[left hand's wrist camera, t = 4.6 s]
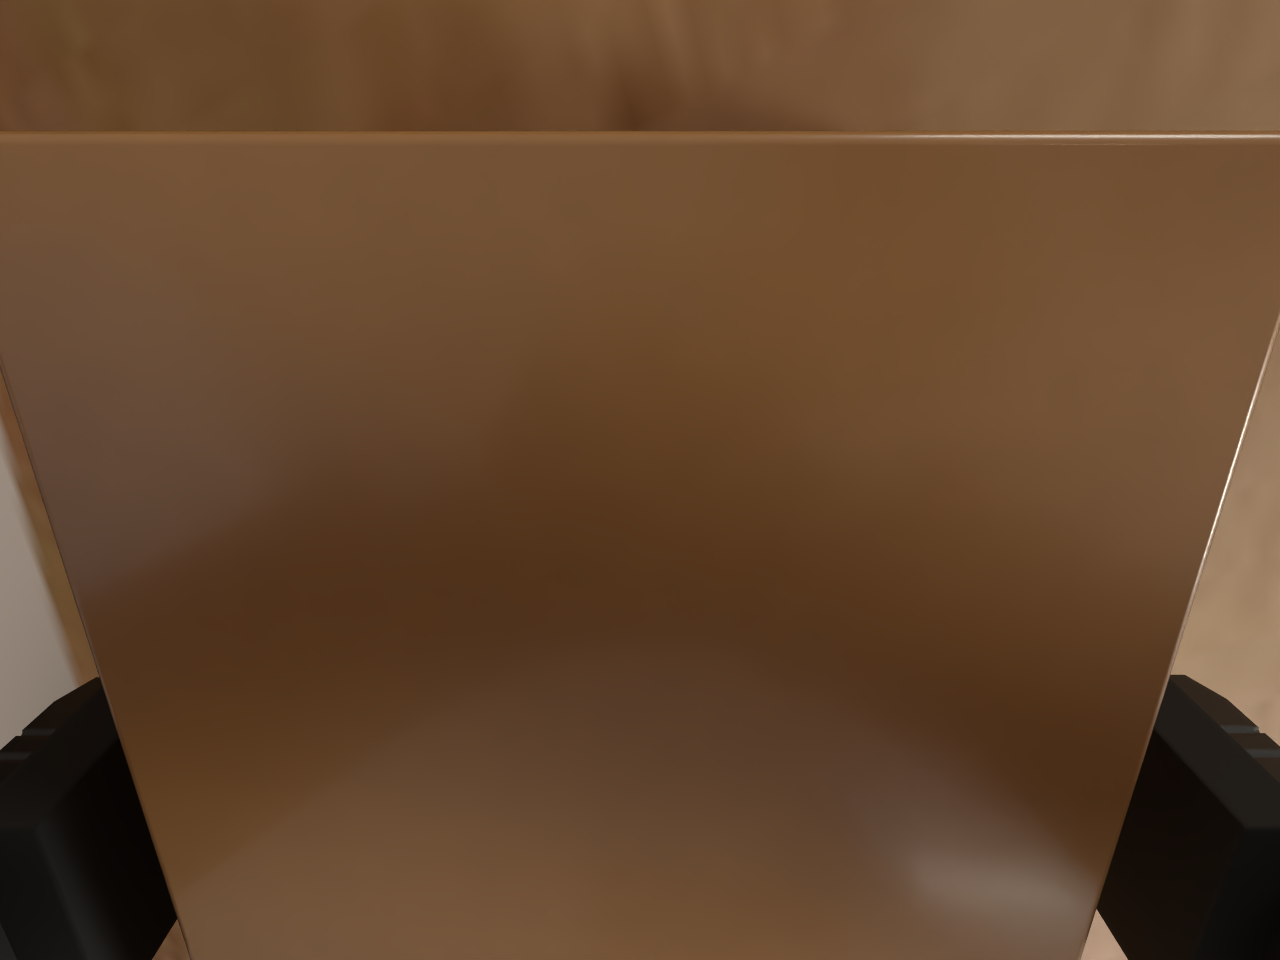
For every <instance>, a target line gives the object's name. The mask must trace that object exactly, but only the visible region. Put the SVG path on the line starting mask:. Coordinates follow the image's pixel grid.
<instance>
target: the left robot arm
mask: <svg viewBox="0 0 1280 960" xmlns="http://www.w3.org/2000/svg"><path fill="white" fill-rule="evenodd" d="M1258 729H1259V727H1257V726H1256V725H1255V724H1254V723H1253V722H1252V721H1251V720H1250V719H1248V718H1247V717H1246V716H1245V715H1244V714H1243V713H1242V712H1241V711H1240V710H1238V709H1237V708H1236V707H1235V706H1234V705H1233V704H1232V703H1231V702H1229V701H1228V700H1227V699H1226V698H1224V697H1222V696H1221V695H1219V694H1217V693H1215V692H1214V691H1212V690H1210V689H1208V688H1207V687H1205V686H1203V685H1201V684H1200V683H1198V682H1196V681H1194V680H1193V679H1191V678H1189V677H1187V676H1186V675H1170V677H1169V680H1168V683H1167V686H1166V689H1165V693H1164V696H1163V699H1162V702H1161V705H1160V708H1159V712H1158V715H1157V718H1156V721H1155V724H1154V727H1153V731H1152V734H1151V737H1150V740H1149V743H1148V746H1147V750H1146V753H1145V756H1144V759H1143V762H1142V765H1141V769H1140V772H1139V775H1138V778H1137V781H1136V784H1135V788H1134V791H1133V794H1132V797H1131V800H1130V803H1129V807H1128V810H1127V813H1126V816H1125V819H1124V823H1123V826H1122V829H1121V832H1120V835H1119V838H1118V842H1117V845H1116V848H1115V851H1114V854H1113V857H1112V861H1111V864H1110V867H1109V870H1108V873H1107V876H1106V880H1105V883H1104V886H1103V889H1102V892H1101V895H1100V899H1099V902H1098V905H1097V908H1096V909H1097V910H1098V912H1099V913H1100V915H1101V917H1102V918H1103V920H1104V921H1105V923H1106V925H1107V926H1108V928H1109V930H1110V931H1111V933H1112V934H1113V936H1114V938H1115V939H1116V941H1117V942H1118V944H1119V946H1120V947H1121V949H1122V950H1123V952H1124V954H1125V955H1126V957H1127V959H1128V960H1280V746H1279V745H1278V744H1276V743H1275V742H1274V741H1273V740H1272V739H1271V738H1270V737H1269V736H1267V735H1266V734H1265V733H1260V732H1259V730H1258ZM22 731H23V733H22V735H21V736H15V737H14V738H13V739H12V740H11V741H10V742H9V743H8V744H7V745H6V746H4V747H3V748H2V749H1V750H0V960H152V959H153V957H154V955H155V954H156V952H157V950H158V949H159V947H160V946H161V944H162V942H163V941H164V939H165V938H166V936H167V934H168V933H169V931H170V930H171V928H172V926H173V925H174V923H175V922H176V920H177V915H176V912H175V909H174V906H173V903H172V900H171V897H170V894H169V891H168V887H167V884H166V881H165V878H164V875H163V872H162V869H161V866H160V863H159V859H158V856H157V853H156V850H155V847H154V844H153V841H152V838H151V835H150V832H149V828H148V825H147V822H146V819H145V816H144V813H143V810H142V807H141V804H140V800H139V797H138V794H137V791H136V788H135V785H134V782H133V779H132V776H131V773H130V769H129V766H128V763H127V760H126V757H125V754H124V751H123V748H122V745H121V742H120V738H119V735H118V732H117V729H116V726H115V723H114V720H113V717H112V714H111V710H110V707H109V704H108V701H107V698H106V695H105V692H104V689H103V686H102V683H101V679H100V677H96V678H94V679H93V680H91V681H89V682H87V683H86V684H84V685H82V686H80V687H79V688H77V689H75V690H73V691H72V692H70V693H68V694H67V695H65V696H63V697H61V698H60V699H58V700H56V701H54V702H53V703H52V704H51V705H50V706H49V707H48V708H47V709H46V710H44V711H43V712H42V713H41V714H40V715H39V716H38V717H37V718H35V719H34V720H33V721H32V722H31V723H30V724H29V725H28V726H27V727H26V728H24V729H23V730H22Z"/></svg>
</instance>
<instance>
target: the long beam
mask: <svg viewBox="0 0 1280 960" xmlns="http://www.w3.org/2000/svg"><path fill="white" fill-rule="evenodd" d="M1279 328H1280V131H0V369H1V372H2V375H3V378H4V381H5V384H6V388H7V391H8V394H9V397H10V400H11V403H12V406H13V409H14V412H15V416H16V419H17V422H18V425H19V428H20V431H21V434H22V437H23V440H24V443H25V447H26V450H27V453H28V456H29V459H30V462H31V465H32V468H33V471H34V474H35V478H36V481H37V484H38V487H39V490H40V493H41V496H42V499H43V502H44V506H45V509H46V512H47V515H48V518H49V521H50V524H51V527H52V530H53V533H54V537H55V540H56V543H57V546H58V549H59V552H60V555H61V558H62V561H63V565H64V568H65V571H66V574H67V577H68V580H69V583H70V586H71V589H72V592H73V596H74V599H75V602H76V605H77V608H78V611H79V614H80V617H81V620H82V624H83V627H84V630H85V633H86V636H87V639H88V642H89V645H90V648H91V651H92V655H93V658H94V661H95V664H96V667H97V670H98V673H99V676H100V679H101V683H102V686H103V689H104V692H105V695H106V698H107V701H108V704H109V707H110V710H111V714H112V717H113V720H114V723H115V726H116V729H117V732H118V735H119V738H120V742H121V745H122V748H123V751H124V754H125V757H126V760H127V763H128V766H129V769H130V773H131V776H132V779H133V782H134V785H135V788H136V791H137V794H138V797H139V800H140V804H141V807H142V810H143V813H144V816H145V819H146V822H147V825H148V828H149V832H150V835H151V838H152V841H153V844H154V847H155V850H156V853H157V856H158V859H159V863H160V866H161V869H162V872H163V875H164V878H165V881H166V884H167V887H168V891H169V894H170V897H171V900H172V903H173V906H174V909H175V912H176V915H177V918H178V922H179V925H180V928H181V931H182V934H183V937H184V940H185V943H186V946H187V950H188V953H189V956H190V959H191V960H1080V959H1081V956H1082V952H1083V949H1084V946H1085V943H1086V940H1087V937H1088V933H1089V930H1090V927H1091V924H1092V921H1093V918H1094V914H1095V911H1096V908H1097V905H1098V902H1099V899H1100V895H1101V892H1102V889H1103V886H1104V883H1105V880H1106V876H1107V873H1108V870H1109V867H1110V864H1111V861H1112V857H1113V854H1114V851H1115V848H1116V845H1117V842H1118V838H1119V835H1120V832H1121V829H1122V826H1123V823H1124V819H1125V816H1126V813H1127V810H1128V807H1129V803H1130V800H1131V797H1132V794H1133V791H1134V788H1135V784H1136V781H1137V778H1138V775H1139V772H1140V769H1141V765H1142V762H1143V759H1144V756H1145V753H1146V750H1147V746H1148V743H1149V740H1150V737H1151V734H1152V731H1153V727H1154V724H1155V721H1156V718H1157V715H1158V712H1159V708H1160V705H1161V702H1162V699H1163V696H1164V693H1165V689H1166V686H1167V683H1168V680H1169V677H1170V674H1171V670H1172V667H1173V664H1174V661H1175V658H1176V655H1177V651H1178V648H1179V645H1180V642H1181V639H1182V636H1183V632H1184V629H1185V626H1186V623H1187V620H1188V617H1189V613H1190V610H1191V607H1192V604H1193V601H1194V597H1195V594H1196V591H1197V588H1198V585H1199V582H1200V578H1201V575H1202V572H1203V569H1204V566H1205V563H1206V559H1207V556H1208V553H1209V550H1210V547H1211V544H1212V540H1213V537H1214V534H1215V531H1216V528H1217V525H1218V521H1219V518H1220V515H1221V512H1222V509H1223V506H1224V502H1225V499H1226V496H1227V493H1228V490H1229V487H1230V483H1231V480H1232V477H1233V474H1234V471H1235V468H1236V464H1237V461H1238V458H1239V455H1240V452H1241V449H1242V445H1243V442H1244V439H1245V436H1246V433H1247V430H1248V426H1249V423H1250V420H1251V417H1252V414H1253V410H1254V407H1255V404H1256V401H1257V398H1258V395H1259V391H1260V388H1261V385H1262V382H1263V379H1264V376H1265V372H1266V369H1267V366H1268V363H1269V360H1270V357H1271V353H1272V350H1273V347H1274V344H1275V341H1276V338H1277V334H1278V331H1279Z"/></svg>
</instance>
